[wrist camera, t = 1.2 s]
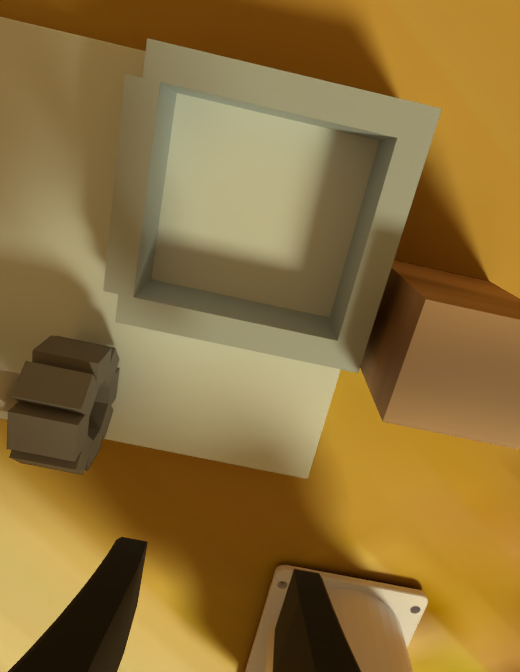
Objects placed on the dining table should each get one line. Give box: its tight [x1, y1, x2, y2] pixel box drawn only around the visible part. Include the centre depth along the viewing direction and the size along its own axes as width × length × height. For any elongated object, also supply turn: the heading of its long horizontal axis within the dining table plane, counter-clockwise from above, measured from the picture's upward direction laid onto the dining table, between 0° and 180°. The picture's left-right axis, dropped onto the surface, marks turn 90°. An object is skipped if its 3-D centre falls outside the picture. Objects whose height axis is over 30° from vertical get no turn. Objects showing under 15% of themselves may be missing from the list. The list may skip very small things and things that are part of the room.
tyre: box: [7, 335, 120, 475], centre depth 17 cm, size 4×2×4 cm, turn 168°
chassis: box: [0, 17, 442, 479], centre depth 17 cm, size 15×17×5 cm
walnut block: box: [360, 260, 520, 450], centre depth 17 cm, size 4×4×6 cm
